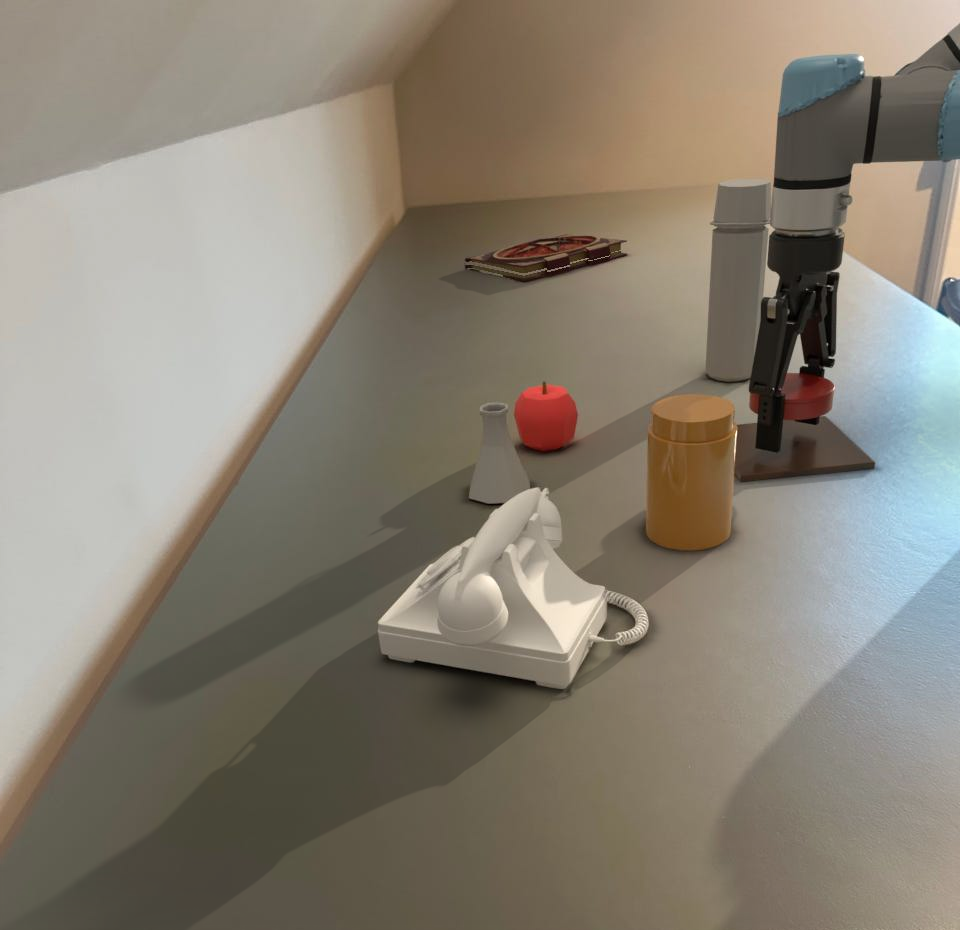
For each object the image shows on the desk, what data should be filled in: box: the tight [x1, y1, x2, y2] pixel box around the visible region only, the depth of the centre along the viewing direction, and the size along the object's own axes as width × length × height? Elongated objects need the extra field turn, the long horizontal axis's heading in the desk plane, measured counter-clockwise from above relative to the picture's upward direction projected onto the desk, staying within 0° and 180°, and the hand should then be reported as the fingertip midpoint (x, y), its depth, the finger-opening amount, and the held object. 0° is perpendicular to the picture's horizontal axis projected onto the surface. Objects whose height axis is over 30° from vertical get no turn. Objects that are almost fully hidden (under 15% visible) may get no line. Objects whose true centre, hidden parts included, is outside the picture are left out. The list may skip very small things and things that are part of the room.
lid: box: [748, 372, 836, 420], centre depth 110 cm, size 9×9×2 cm
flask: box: [468, 402, 531, 505], centre depth 107 cm, size 7×7×10 cm
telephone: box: [377, 486, 649, 690], centre depth 82 cm, size 25×21×12 cm
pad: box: [735, 415, 876, 483], centre depth 114 cm, size 15×15×1 cm
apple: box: [513, 380, 579, 453], centre depth 119 cm, size 8×8×8 cm
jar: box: [645, 393, 738, 552], centre depth 95 cm, size 8×8×13 cm
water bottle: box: [705, 178, 772, 383], centre depth 131 cm, size 9×8×25 cm
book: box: [464, 234, 628, 283], centre depth 207 cm, size 28×21×5 cm
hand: (787, 435), depth 113 cm, fingers closed on lid, 9 cm apart
